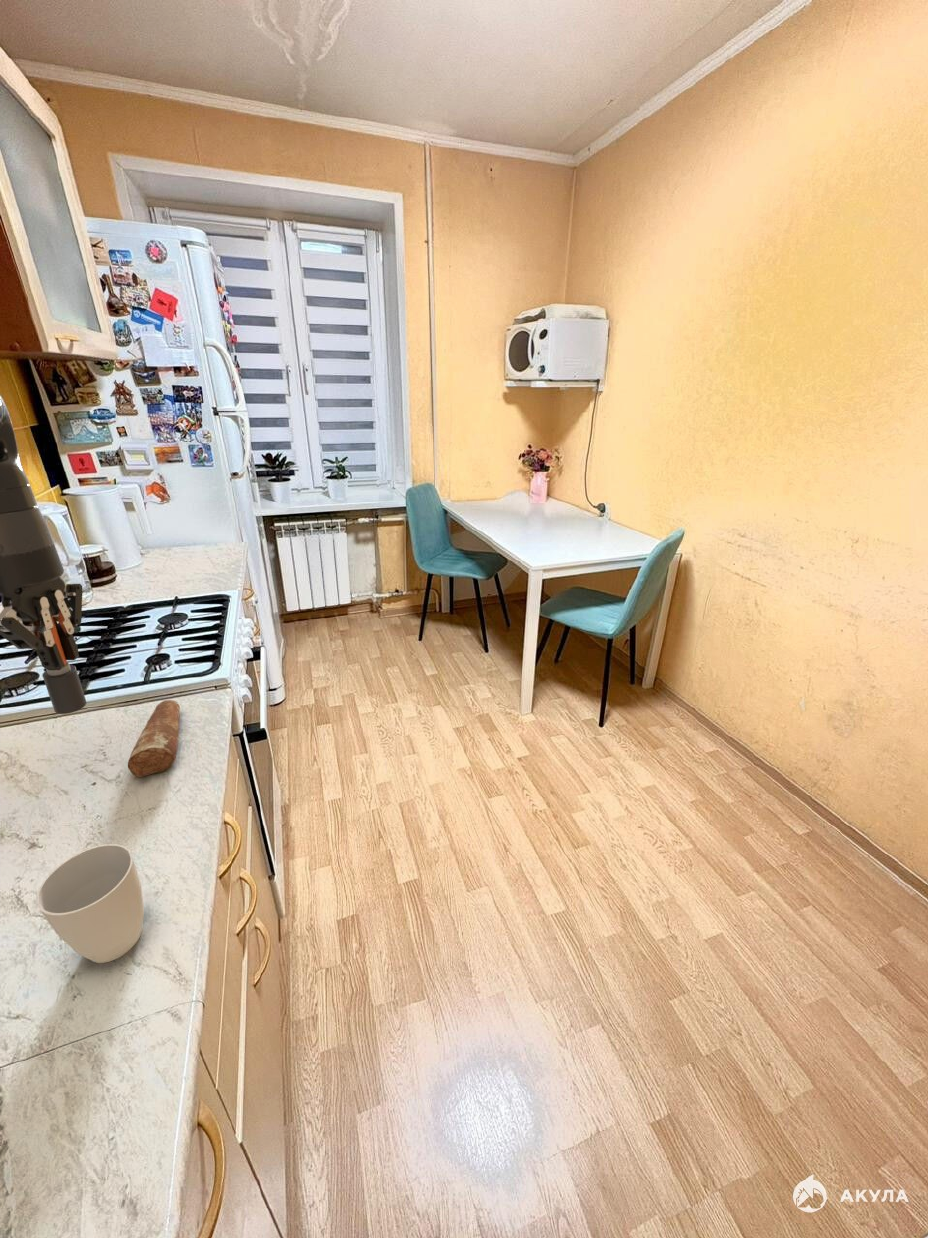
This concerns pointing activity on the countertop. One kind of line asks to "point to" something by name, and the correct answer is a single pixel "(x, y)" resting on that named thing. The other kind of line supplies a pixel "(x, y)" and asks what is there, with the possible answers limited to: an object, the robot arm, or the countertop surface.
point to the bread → (157, 741)
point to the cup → (95, 902)
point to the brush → (63, 683)
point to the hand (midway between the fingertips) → (63, 663)
